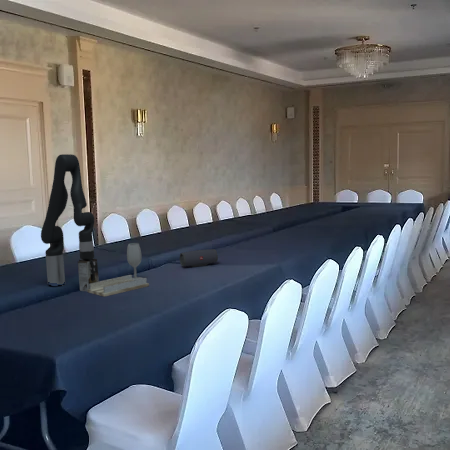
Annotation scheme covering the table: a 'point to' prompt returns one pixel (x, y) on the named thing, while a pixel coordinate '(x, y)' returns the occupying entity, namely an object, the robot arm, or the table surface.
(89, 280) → the coffee box
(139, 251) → the wineglass
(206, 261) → the bluetooth speaker
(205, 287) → the table surface
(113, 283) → the track base
